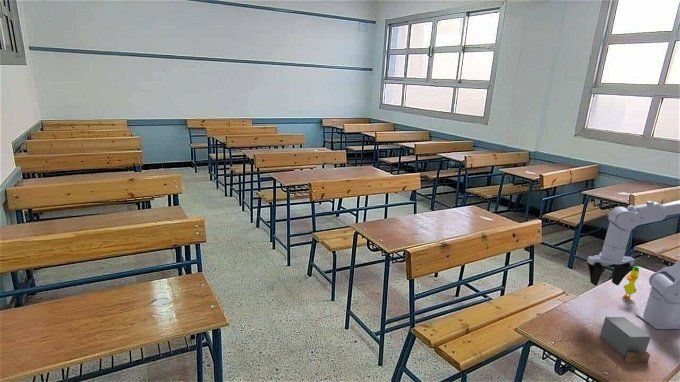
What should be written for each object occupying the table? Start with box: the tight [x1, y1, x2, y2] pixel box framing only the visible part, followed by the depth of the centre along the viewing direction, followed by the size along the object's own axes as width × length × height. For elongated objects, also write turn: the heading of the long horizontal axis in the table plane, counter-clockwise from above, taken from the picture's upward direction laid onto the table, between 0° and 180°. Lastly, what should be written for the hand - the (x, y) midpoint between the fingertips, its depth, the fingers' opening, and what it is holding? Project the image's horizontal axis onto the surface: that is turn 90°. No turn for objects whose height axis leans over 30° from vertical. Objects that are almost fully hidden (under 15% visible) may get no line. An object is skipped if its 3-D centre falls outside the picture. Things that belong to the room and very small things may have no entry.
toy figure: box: [622, 265, 640, 300], centre depth 134 cm, size 7×4×12 cm, turn 121°
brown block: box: [624, 351, 651, 364], centre depth 103 cm, size 6×1×2 cm, turn 96°
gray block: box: [599, 316, 652, 358], centre depth 108 cm, size 6×9×6 cm, turn 6°
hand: (604, 283), depth 123 cm, fingers open, 7 cm apart
